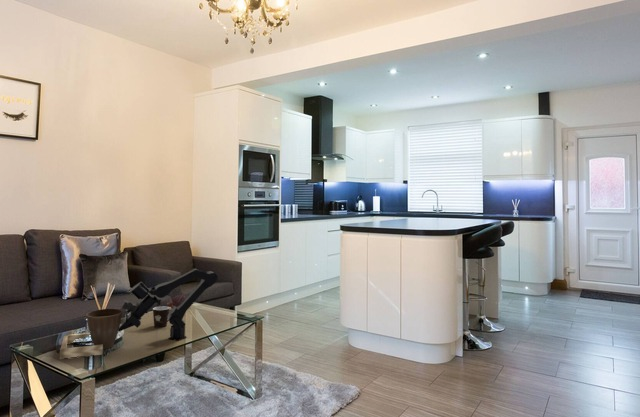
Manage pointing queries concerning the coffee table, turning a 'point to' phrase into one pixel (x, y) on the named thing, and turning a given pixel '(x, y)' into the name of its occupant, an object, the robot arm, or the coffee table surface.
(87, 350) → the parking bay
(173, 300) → the red grape bunch
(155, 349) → the coffee table surface
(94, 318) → the plant pot
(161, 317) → the coffee mug
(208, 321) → the coffee table surface
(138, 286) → the robot arm
